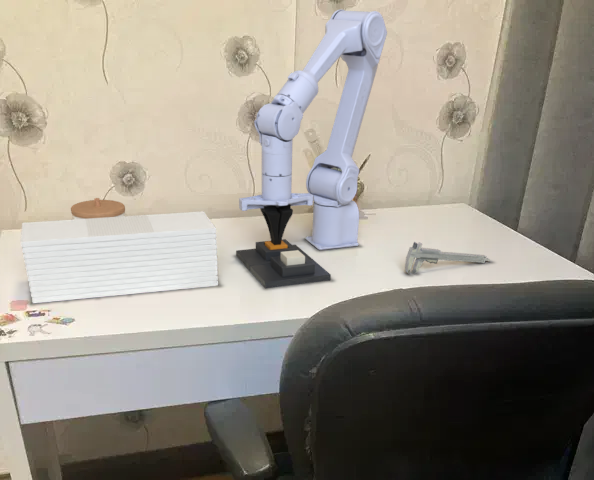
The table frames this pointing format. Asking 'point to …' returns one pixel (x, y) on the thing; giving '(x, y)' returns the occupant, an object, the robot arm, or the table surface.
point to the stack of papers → (119, 255)
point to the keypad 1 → (264, 254)
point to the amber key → (272, 246)
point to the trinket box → (97, 209)
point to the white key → (292, 257)
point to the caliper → (436, 257)
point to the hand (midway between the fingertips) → (275, 243)
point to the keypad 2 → (289, 273)
